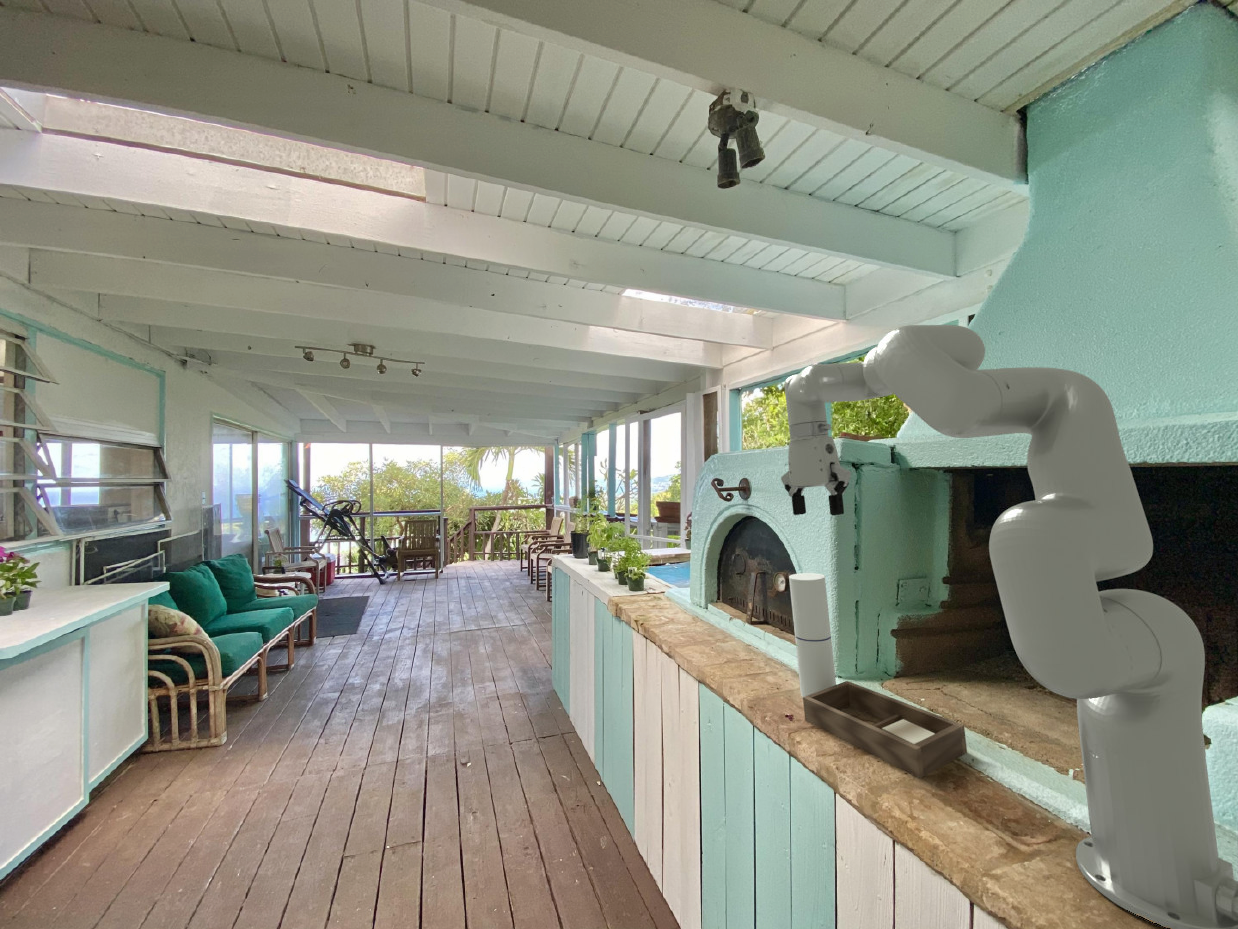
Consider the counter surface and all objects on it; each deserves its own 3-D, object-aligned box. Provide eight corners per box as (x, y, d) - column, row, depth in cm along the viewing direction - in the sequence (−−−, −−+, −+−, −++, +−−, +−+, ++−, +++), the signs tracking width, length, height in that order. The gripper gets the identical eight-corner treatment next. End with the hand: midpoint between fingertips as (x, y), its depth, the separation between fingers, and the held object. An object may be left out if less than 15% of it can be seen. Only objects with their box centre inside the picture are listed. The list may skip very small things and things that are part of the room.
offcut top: (936, 744, 79) (935, 734, 79) (915, 754, 77) (914, 744, 77) (904, 728, 84) (903, 719, 84) (882, 737, 82) (882, 728, 82)
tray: (967, 757, 79) (964, 725, 79) (919, 783, 73) (916, 749, 74) (849, 706, 98) (847, 680, 99) (805, 724, 93) (802, 697, 93)
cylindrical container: (815, 706, 100) (802, 581, 101) (794, 692, 107) (782, 576, 107) (845, 699, 102) (832, 576, 102) (822, 686, 109) (810, 571, 109)
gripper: (856, 426, 98) (866, 512, 97) (790, 437, 113) (799, 512, 112) (830, 427, 94) (840, 517, 94) (765, 439, 110) (774, 516, 109)
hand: (817, 514), depth 103 cm, fingers open, 9 cm apart
